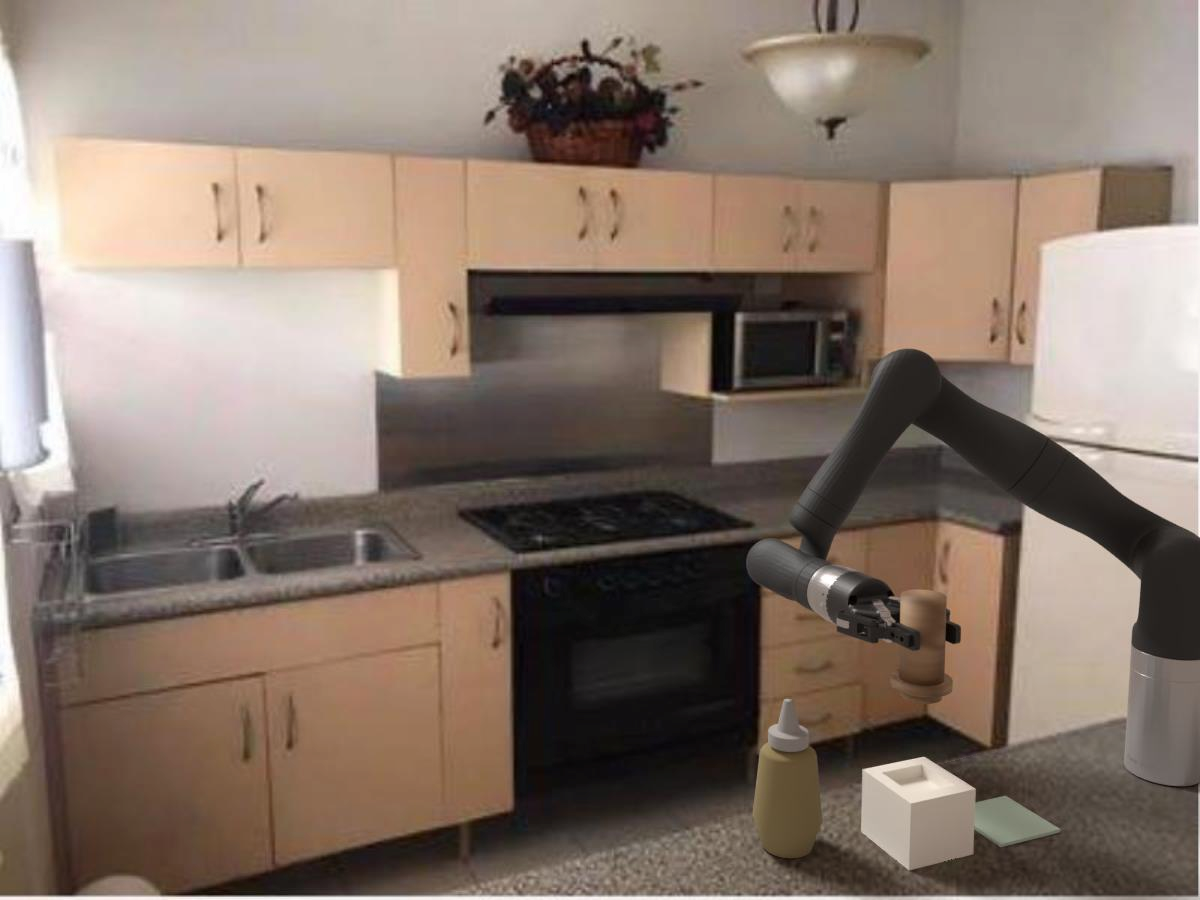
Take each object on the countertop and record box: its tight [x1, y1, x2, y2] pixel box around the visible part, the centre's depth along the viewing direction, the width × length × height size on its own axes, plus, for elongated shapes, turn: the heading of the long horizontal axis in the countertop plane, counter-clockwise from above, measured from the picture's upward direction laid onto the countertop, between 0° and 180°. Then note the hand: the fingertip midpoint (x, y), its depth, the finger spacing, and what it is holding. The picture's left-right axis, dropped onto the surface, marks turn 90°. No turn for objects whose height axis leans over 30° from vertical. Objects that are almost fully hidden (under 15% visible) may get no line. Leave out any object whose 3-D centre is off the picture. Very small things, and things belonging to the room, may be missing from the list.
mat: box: [974, 795, 1061, 848], centre depth 121 cm, size 9×9×1 cm
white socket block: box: [860, 756, 977, 871], centre depth 116 cm, size 9×9×8 cm
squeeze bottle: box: [752, 698, 823, 859], centre depth 115 cm, size 8×8×18 cm
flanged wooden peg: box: [890, 588, 954, 705], centre depth 113 cm, size 7×7×12 cm
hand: (937, 638), depth 110 cm, fingers closed on flanged wooden peg, 5 cm apart
